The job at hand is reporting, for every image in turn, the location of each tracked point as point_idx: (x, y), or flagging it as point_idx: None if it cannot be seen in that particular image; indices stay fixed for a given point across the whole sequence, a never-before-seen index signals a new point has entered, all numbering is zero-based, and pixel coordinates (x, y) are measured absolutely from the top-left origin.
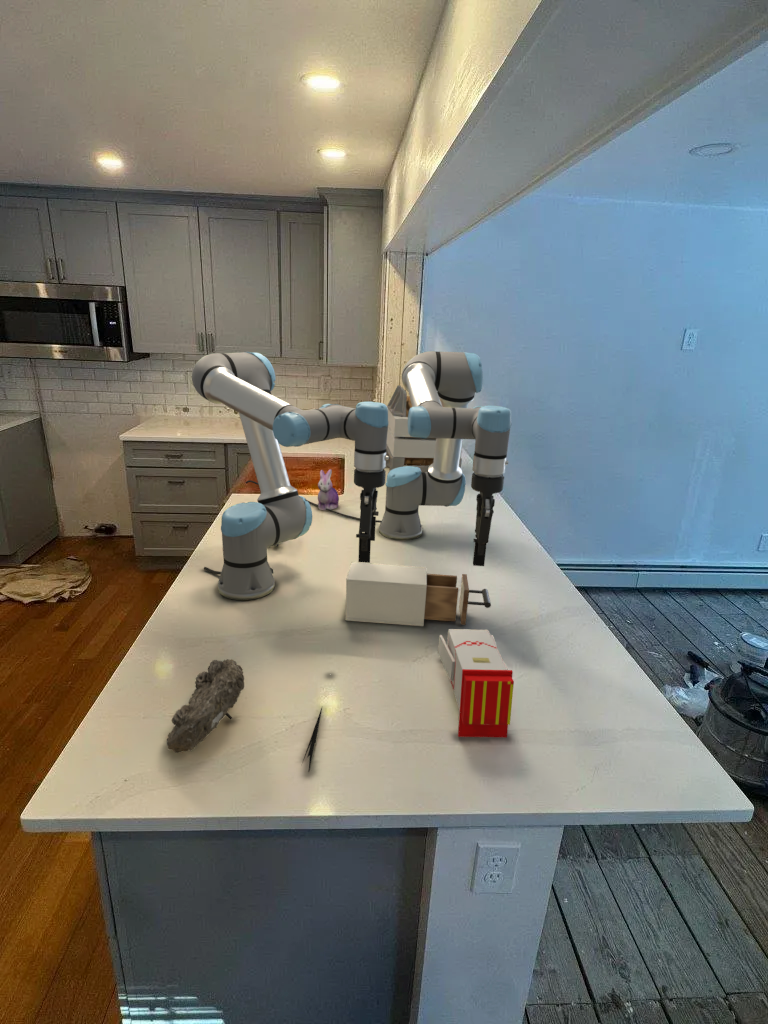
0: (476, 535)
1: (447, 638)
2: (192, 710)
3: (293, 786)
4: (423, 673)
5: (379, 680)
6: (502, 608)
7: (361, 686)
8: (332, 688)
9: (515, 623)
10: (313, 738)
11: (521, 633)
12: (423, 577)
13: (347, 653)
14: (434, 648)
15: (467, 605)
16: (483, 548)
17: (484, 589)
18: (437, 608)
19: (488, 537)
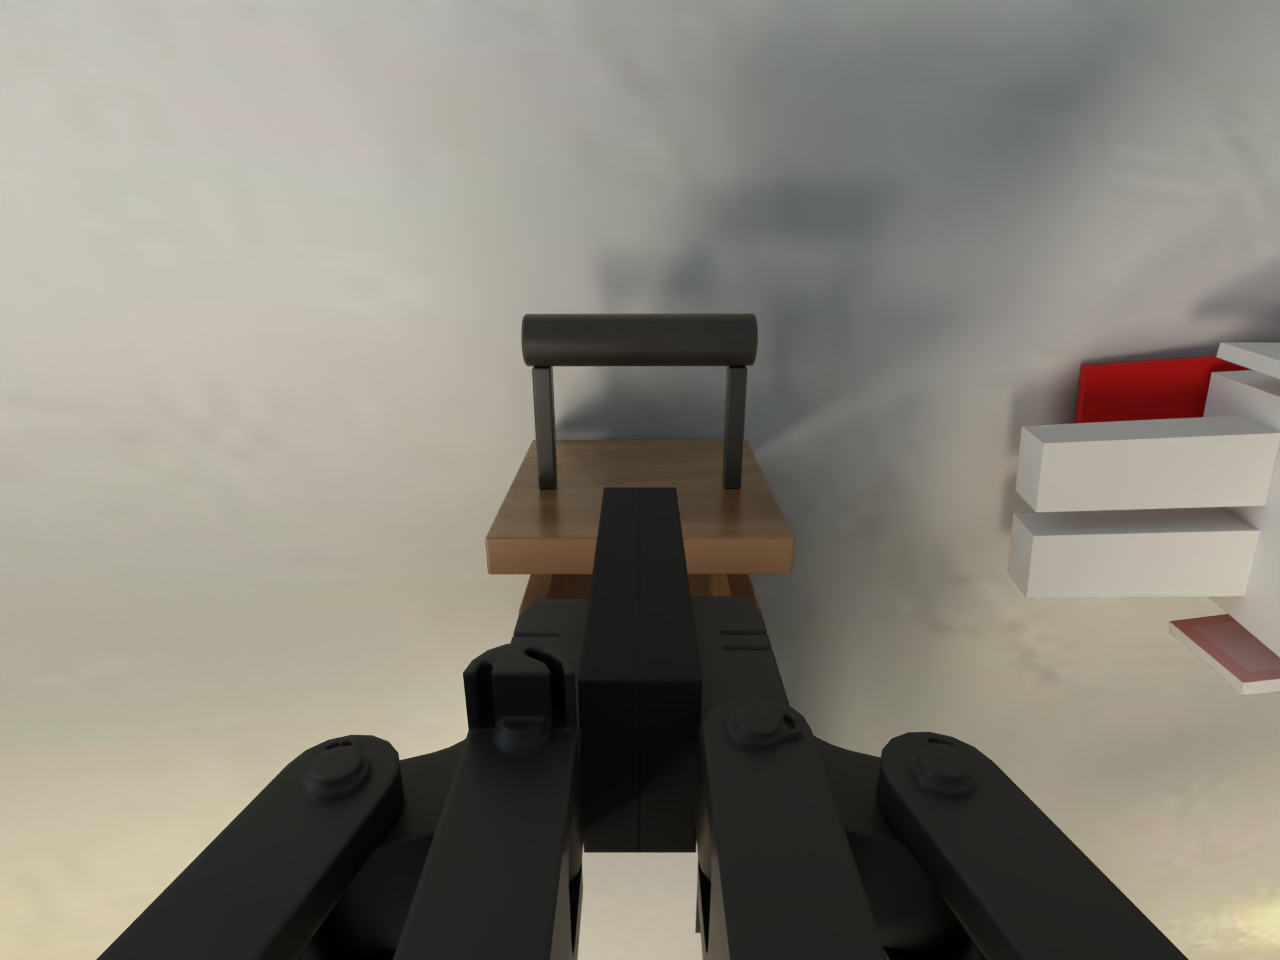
0: (580, 908)
1: (1012, 575)
2: None
3: None
4: (1150, 639)
5: (1176, 792)
6: (449, 159)
7: (1205, 844)
8: (1201, 922)
9: (645, 88)
10: None
11: (774, 63)
12: (674, 860)
13: None
14: (949, 593)
15: (768, 486)
16: (777, 674)
17: (537, 351)
18: None
19: (1106, 881)
